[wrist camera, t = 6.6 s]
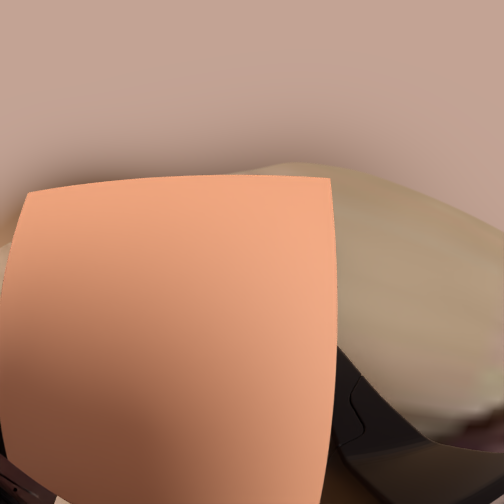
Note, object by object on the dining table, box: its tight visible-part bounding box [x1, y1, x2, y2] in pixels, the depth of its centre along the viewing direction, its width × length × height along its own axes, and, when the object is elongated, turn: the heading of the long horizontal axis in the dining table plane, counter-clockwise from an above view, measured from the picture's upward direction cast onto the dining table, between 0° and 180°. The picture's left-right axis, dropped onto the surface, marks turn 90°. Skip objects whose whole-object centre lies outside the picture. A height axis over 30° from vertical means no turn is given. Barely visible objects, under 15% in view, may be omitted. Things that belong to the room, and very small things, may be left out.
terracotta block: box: [0, 175, 337, 504], centre depth 8 cm, size 5×5×12 cm
